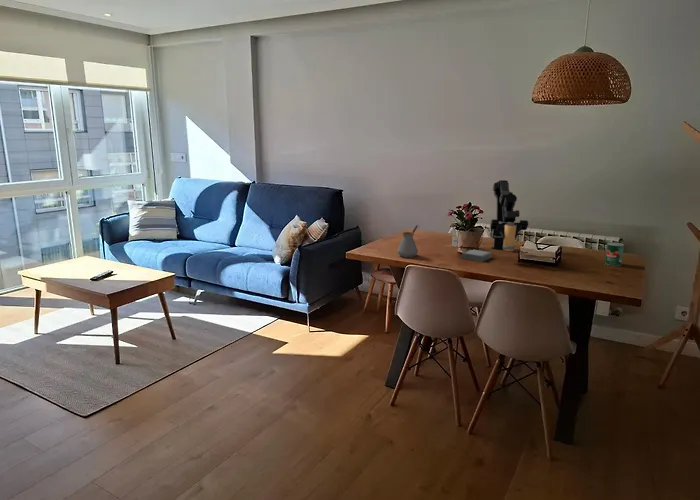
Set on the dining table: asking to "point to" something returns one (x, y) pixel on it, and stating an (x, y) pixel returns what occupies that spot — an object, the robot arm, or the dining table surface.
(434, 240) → the dining table surface
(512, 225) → the housing
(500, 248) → the robot arm
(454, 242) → the ink cartridge box
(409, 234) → the coffee pot
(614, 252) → the canned tomato
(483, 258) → the stand
